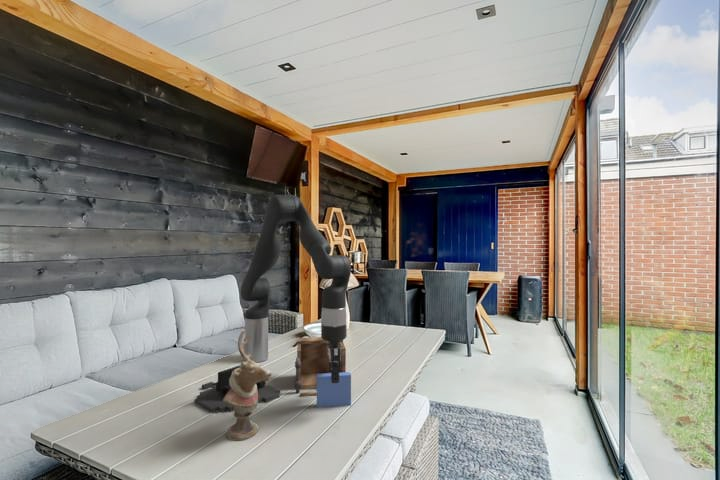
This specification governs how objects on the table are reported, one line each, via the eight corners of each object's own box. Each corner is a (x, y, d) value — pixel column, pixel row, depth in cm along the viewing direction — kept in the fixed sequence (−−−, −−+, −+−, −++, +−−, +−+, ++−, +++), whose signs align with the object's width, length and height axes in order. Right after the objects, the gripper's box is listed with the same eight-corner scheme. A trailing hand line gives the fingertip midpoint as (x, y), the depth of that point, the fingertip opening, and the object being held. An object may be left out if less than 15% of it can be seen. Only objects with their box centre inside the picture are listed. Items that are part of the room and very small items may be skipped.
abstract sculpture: (181, 367, 110) (237, 352, 126) (181, 397, 110) (237, 377, 126) (225, 388, 95) (283, 367, 111) (225, 422, 95) (283, 396, 111)
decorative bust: (279, 436, 85) (265, 332, 87) (224, 450, 82) (210, 342, 84) (279, 418, 96) (267, 326, 97) (230, 430, 93) (218, 335, 94)
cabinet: (294, 396, 110) (294, 353, 110) (295, 375, 127) (296, 338, 127) (347, 393, 112) (347, 351, 112) (341, 373, 130) (341, 336, 130)
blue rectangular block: (316, 407, 103) (317, 376, 103) (316, 404, 105) (316, 373, 105) (350, 405, 104) (351, 375, 104) (349, 401, 107) (349, 372, 107)
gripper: (320, 317, 111) (320, 369, 111) (322, 328, 97) (322, 387, 97) (343, 317, 112) (343, 368, 112) (349, 327, 98) (349, 385, 98)
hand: (334, 377), depth 105 cm, fingers open, 8 cm apart
